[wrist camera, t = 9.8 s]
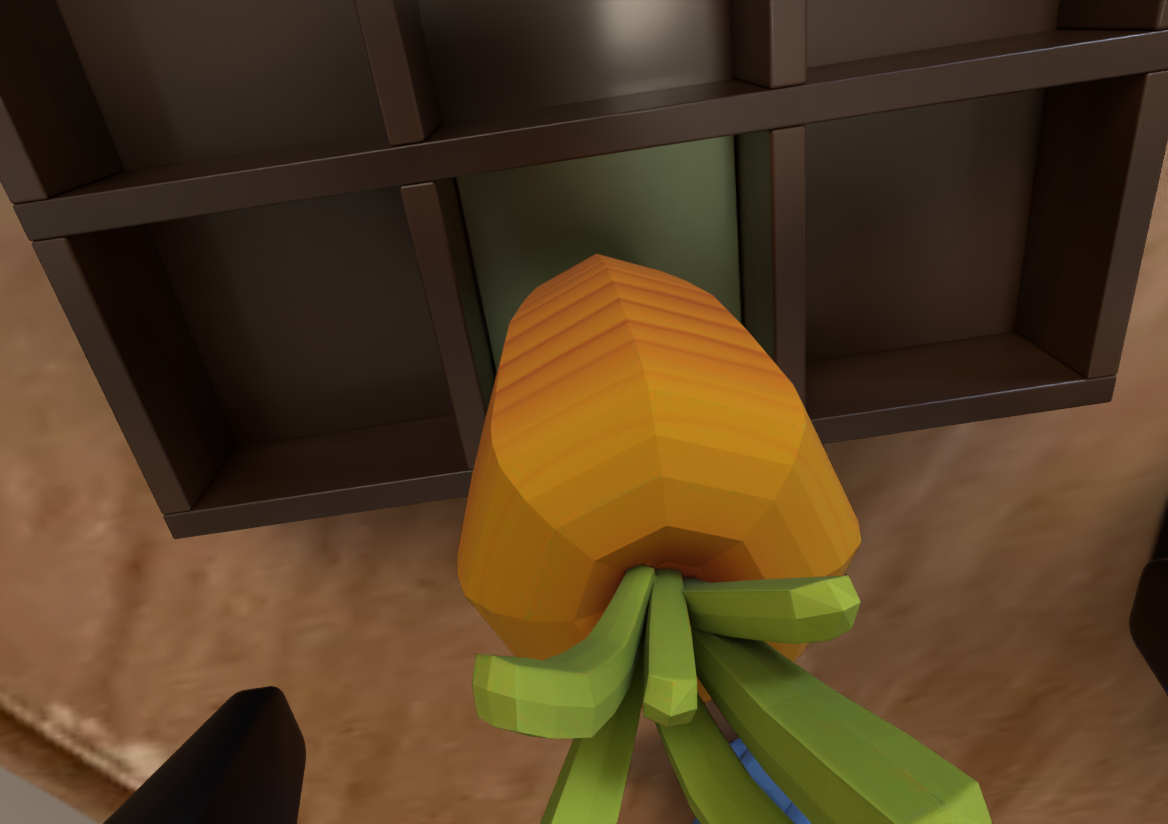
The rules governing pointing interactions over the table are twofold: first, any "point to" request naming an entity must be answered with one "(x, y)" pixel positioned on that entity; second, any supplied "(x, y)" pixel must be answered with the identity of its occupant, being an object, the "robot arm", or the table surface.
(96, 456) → the table surface
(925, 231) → the wooden compartment organizer
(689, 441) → the carrot
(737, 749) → the grapes
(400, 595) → the table surface
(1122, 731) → the table surface
